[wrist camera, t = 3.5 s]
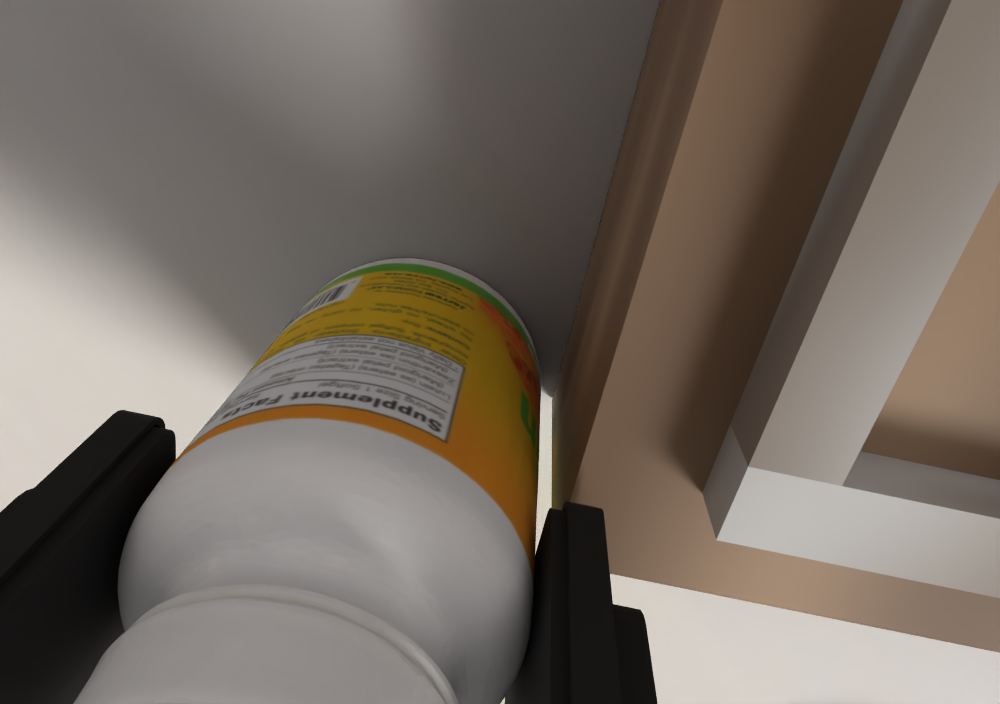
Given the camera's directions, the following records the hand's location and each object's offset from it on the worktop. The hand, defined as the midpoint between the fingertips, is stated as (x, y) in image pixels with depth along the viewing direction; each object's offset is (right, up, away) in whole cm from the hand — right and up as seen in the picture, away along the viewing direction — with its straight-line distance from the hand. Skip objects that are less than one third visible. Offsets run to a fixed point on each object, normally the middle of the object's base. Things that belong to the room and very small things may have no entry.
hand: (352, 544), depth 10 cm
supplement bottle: (0, +2, +5) cm, 6 cm away
